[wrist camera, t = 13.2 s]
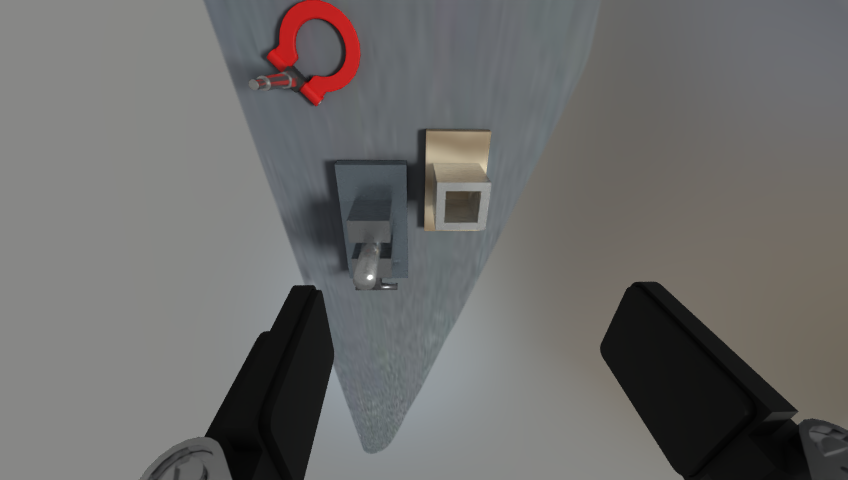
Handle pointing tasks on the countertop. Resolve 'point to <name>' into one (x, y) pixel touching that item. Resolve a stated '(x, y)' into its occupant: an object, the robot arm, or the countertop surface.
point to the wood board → (452, 160)
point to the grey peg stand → (374, 220)
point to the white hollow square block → (460, 210)
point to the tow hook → (288, 55)
